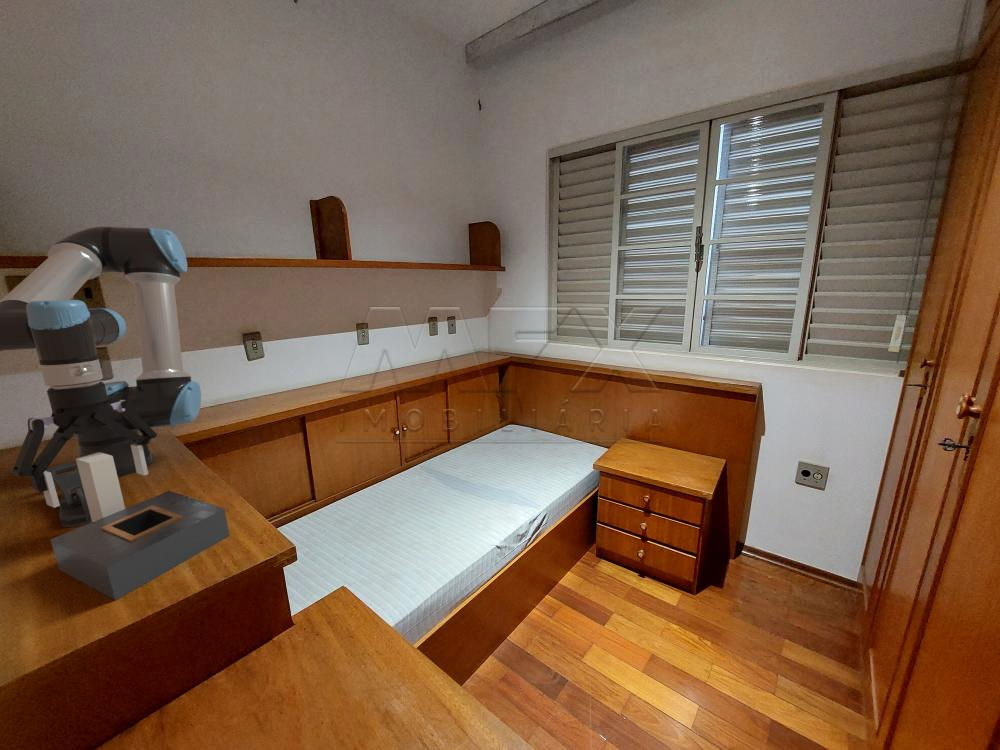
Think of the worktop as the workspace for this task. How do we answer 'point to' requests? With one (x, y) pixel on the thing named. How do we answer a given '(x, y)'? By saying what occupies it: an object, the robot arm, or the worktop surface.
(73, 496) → the zipper slider
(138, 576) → the block
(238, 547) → the worktop surface
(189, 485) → the worktop surface
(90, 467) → the white rectangular bar
